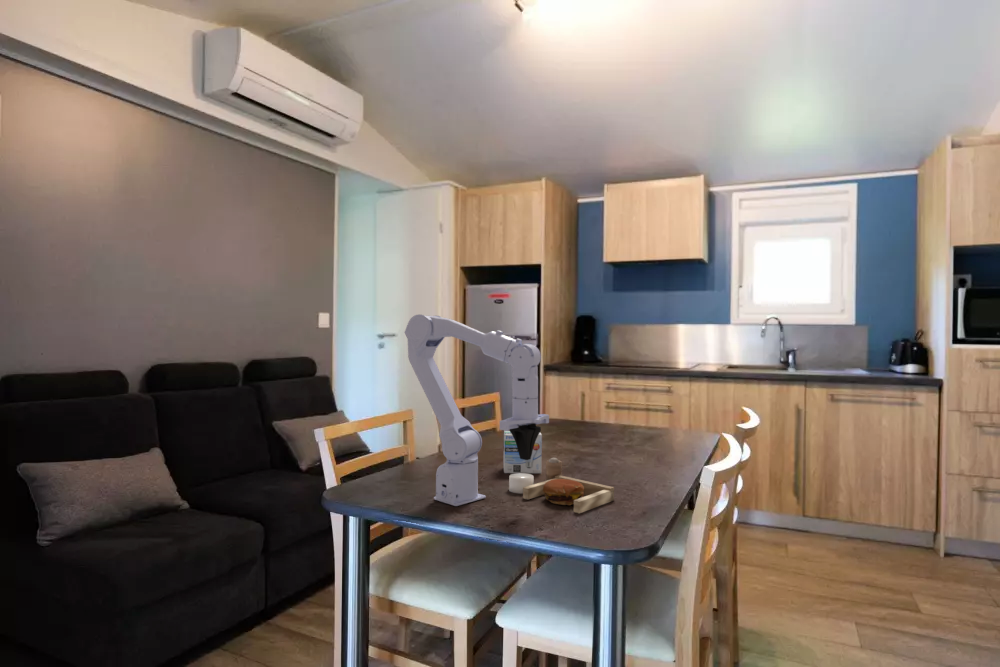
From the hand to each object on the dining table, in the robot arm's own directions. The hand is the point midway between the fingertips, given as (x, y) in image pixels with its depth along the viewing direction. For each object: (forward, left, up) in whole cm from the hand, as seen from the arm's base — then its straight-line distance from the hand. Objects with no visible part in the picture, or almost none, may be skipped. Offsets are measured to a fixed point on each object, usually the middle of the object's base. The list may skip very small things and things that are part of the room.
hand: (525, 458), depth 126 cm
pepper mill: (+18, +6, -10) cm, 22 cm away
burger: (+9, -4, -11) cm, 15 cm away
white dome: (+9, +9, -11) cm, 17 cm away
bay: (+11, -4, -10) cm, 15 cm away
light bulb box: (+24, +22, -11) cm, 34 cm away
